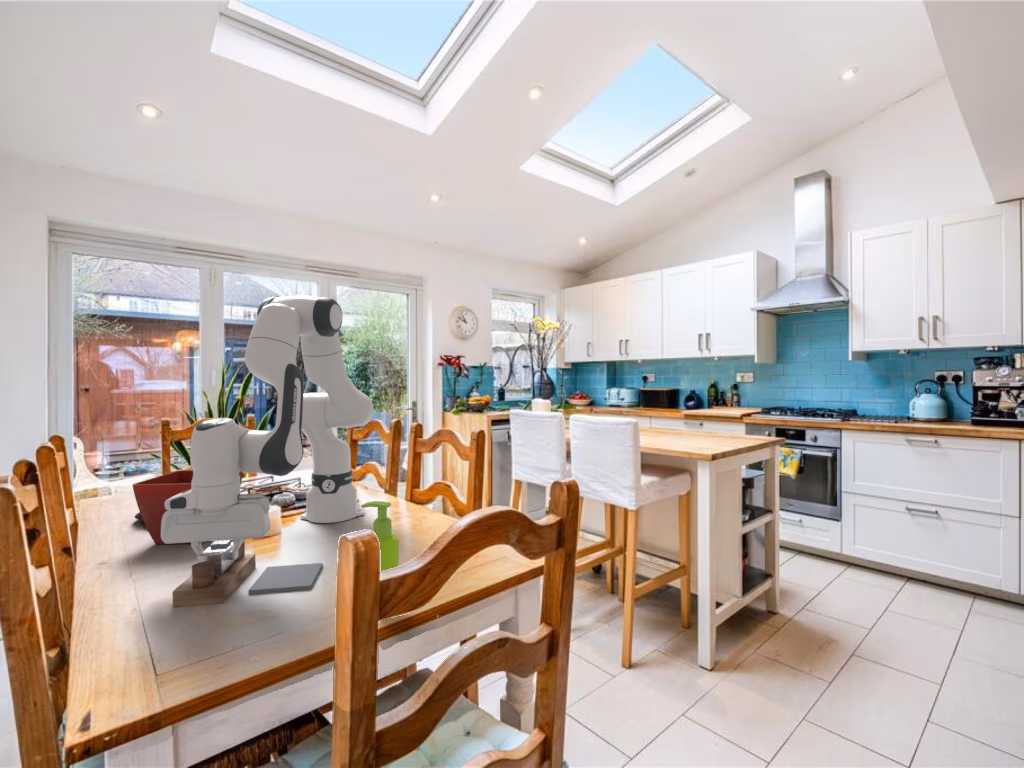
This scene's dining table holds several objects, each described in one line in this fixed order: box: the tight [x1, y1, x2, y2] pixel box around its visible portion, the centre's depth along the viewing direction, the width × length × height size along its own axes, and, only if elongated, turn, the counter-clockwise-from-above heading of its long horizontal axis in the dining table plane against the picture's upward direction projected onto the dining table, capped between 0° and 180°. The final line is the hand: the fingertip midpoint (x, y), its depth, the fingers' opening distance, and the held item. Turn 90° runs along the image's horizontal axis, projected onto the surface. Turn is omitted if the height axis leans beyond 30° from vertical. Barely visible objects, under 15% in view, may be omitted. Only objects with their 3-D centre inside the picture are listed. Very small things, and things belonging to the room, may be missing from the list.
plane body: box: [172, 539, 257, 608], centre depth 102 cm, size 18×9×9 cm, turn 10°
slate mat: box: [248, 562, 324, 595], centre depth 104 cm, size 12×12×1 cm
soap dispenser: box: [361, 500, 400, 571], centre depth 92 cm, size 6×7×20 cm
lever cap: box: [197, 540, 236, 574], centre depth 102 cm, size 8×4×5 cm, turn 10°
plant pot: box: [132, 469, 244, 545], centre depth 133 cm, size 19×19×17 cm
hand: (218, 559), depth 102 cm, fingers closed on lever cap, 4 cm apart
